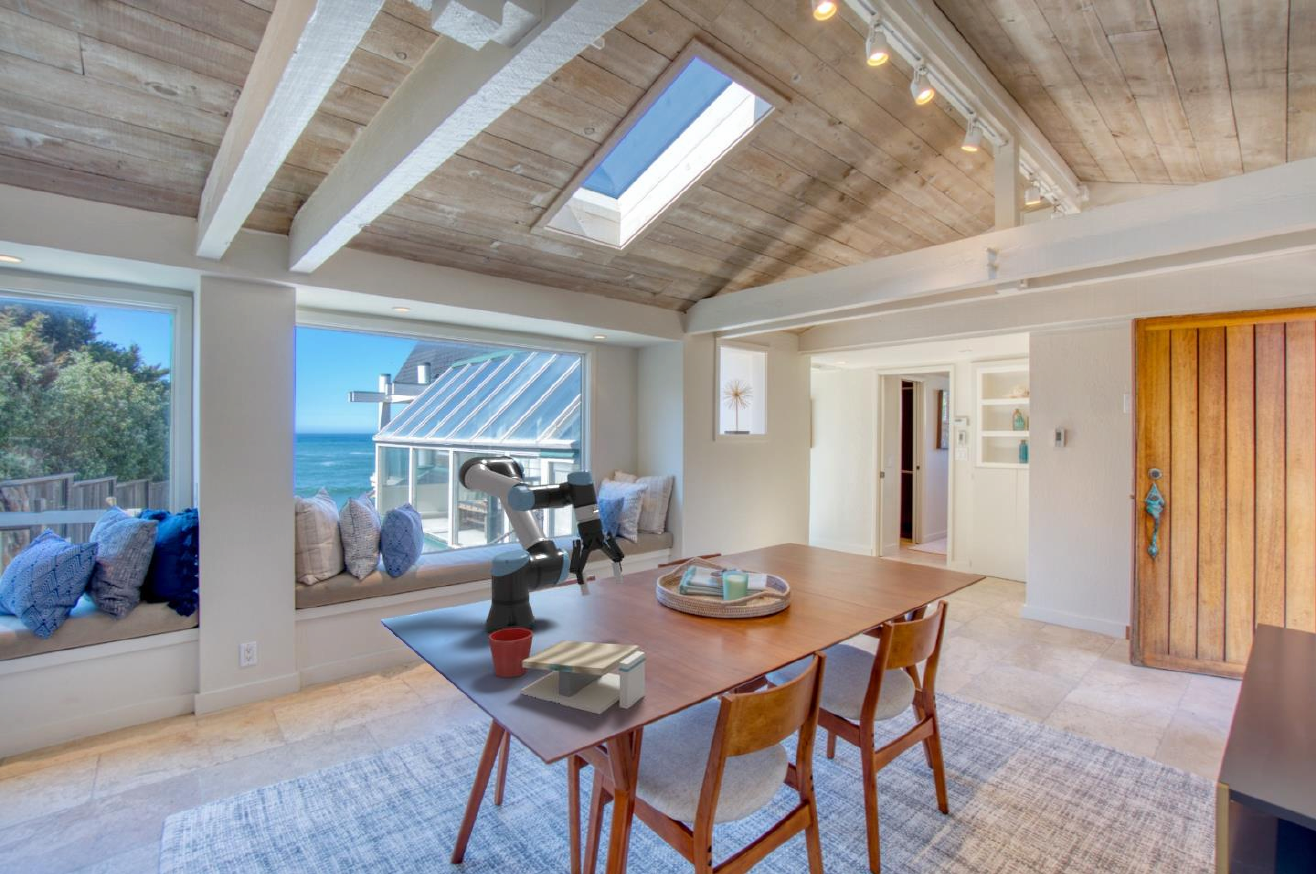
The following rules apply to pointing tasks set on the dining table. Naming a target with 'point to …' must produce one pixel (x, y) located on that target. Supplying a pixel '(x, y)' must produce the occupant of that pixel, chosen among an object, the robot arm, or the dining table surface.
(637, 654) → the stand
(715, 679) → the dining table surface
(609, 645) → the plate
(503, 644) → the flower pot
